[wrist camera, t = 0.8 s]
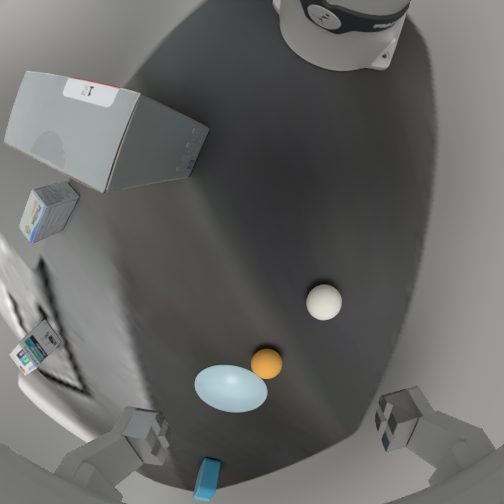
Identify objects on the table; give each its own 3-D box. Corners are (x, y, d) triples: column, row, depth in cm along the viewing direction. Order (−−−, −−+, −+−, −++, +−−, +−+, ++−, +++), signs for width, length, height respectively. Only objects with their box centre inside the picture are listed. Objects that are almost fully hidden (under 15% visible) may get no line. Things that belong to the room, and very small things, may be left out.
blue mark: (216, 352, 44) (216, 353, 44) (282, 386, 46) (282, 386, 46) (183, 391, 48) (183, 391, 48) (242, 419, 50) (241, 419, 50)
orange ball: (263, 337, 42) (262, 357, 38) (288, 351, 43) (289, 371, 38) (246, 356, 44) (243, 376, 39) (270, 368, 45) (269, 388, 40)
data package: (213, 472, 62) (207, 502, 51) (199, 469, 62) (192, 499, 50) (221, 459, 58) (215, 494, 47) (205, 455, 58) (197, 490, 47)
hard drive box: (212, 127, 33) (145, 93, 14) (189, 179, 35) (105, 201, 16) (121, 96, 32) (24, 70, 13) (103, 143, 34) (0, 146, 15)
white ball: (319, 272, 38) (324, 287, 33) (344, 290, 39) (352, 306, 34) (298, 298, 40) (300, 315, 35) (323, 314, 40) (328, 332, 36)
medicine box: (66, 180, 36) (31, 187, 28) (81, 196, 37) (46, 207, 29) (50, 214, 39) (17, 226, 30) (63, 230, 39) (31, 245, 31)
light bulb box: (45, 318, 47) (17, 342, 37) (62, 341, 48) (37, 368, 38) (31, 331, 49) (7, 353, 39) (47, 352, 51) (25, 376, 41)
